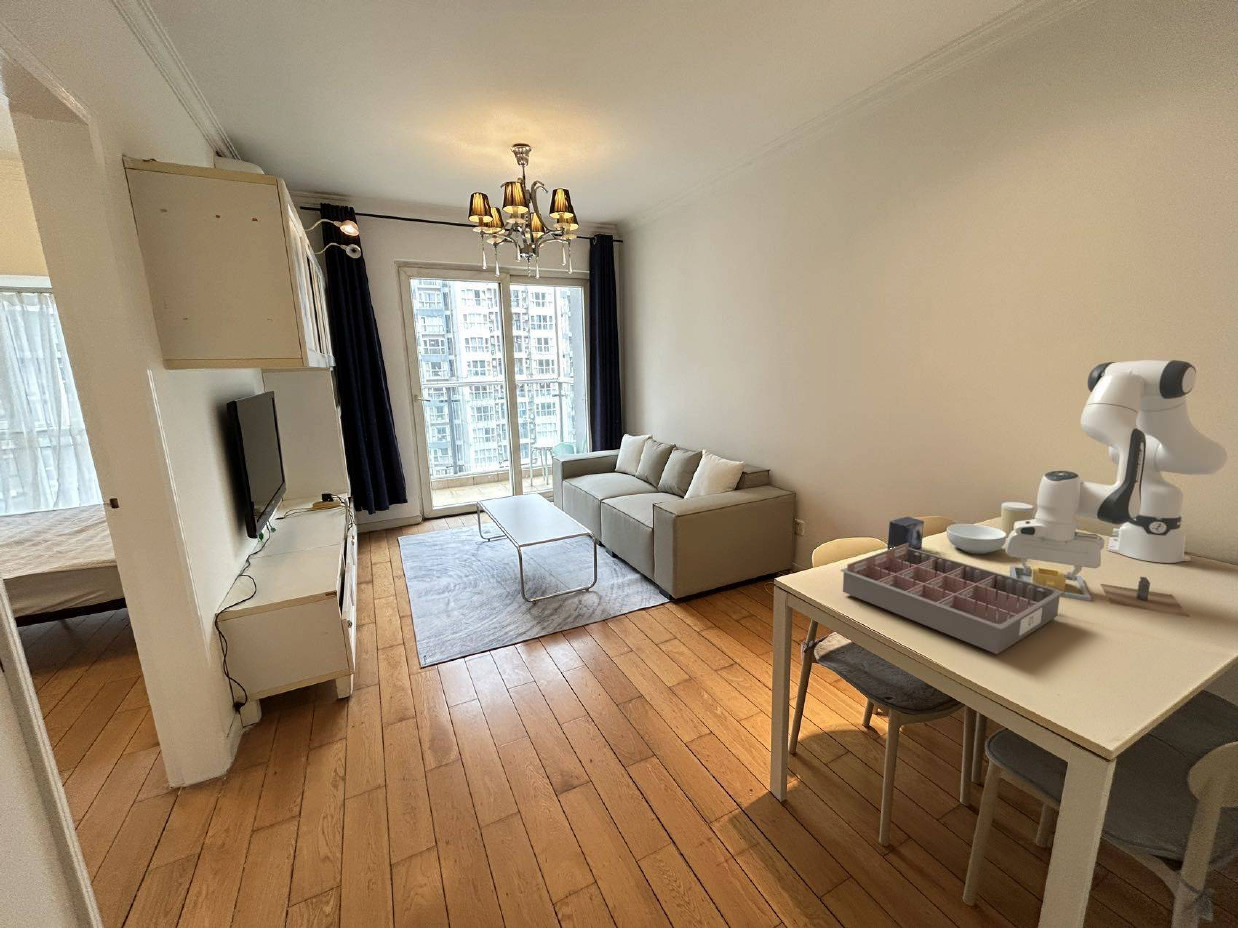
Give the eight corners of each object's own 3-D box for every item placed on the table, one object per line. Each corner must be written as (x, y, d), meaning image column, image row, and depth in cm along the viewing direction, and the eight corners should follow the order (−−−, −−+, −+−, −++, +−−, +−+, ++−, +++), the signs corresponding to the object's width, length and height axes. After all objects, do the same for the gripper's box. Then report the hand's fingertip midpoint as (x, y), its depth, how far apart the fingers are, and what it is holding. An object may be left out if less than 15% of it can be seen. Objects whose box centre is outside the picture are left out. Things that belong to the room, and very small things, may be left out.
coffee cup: (1025, 533, 186) (1029, 502, 184) (1034, 541, 178) (1037, 509, 176) (995, 531, 190) (998, 500, 188) (1002, 539, 182) (1005, 507, 180)
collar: (1031, 580, 146) (1032, 565, 146) (1060, 585, 143) (1062, 570, 142) (1034, 592, 139) (1035, 577, 138) (1065, 598, 135) (1067, 582, 134)
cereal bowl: (958, 538, 184) (960, 520, 183) (1012, 551, 170) (1015, 531, 169) (936, 549, 175) (937, 529, 174) (991, 563, 161) (993, 542, 160)
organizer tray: (999, 662, 109) (1003, 620, 107) (838, 596, 143) (839, 563, 141) (1061, 621, 124) (1066, 584, 123) (903, 570, 159) (905, 540, 157)
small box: (904, 554, 171) (906, 525, 169) (886, 549, 176) (888, 520, 174) (922, 548, 175) (925, 520, 173) (905, 543, 181) (907, 515, 179)
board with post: (1099, 588, 141) (1102, 565, 139) (1171, 600, 133) (1175, 575, 131) (1109, 608, 129) (1113, 583, 128) (1189, 622, 121) (1194, 595, 120)
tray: (1009, 573, 153) (1010, 565, 152) (1079, 584, 144) (1080, 576, 143) (1012, 592, 140) (1013, 584, 140) (1089, 606, 131) (1091, 597, 131)
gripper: (1103, 531, 135) (1096, 579, 138) (1008, 521, 147) (1003, 565, 150) (1108, 538, 130) (1100, 588, 133) (1009, 527, 142) (1004, 572, 144)
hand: (1048, 576), depth 141 cm, fingers open, 8 cm apart
